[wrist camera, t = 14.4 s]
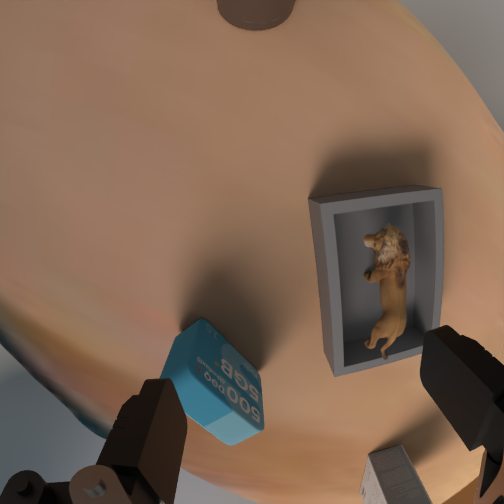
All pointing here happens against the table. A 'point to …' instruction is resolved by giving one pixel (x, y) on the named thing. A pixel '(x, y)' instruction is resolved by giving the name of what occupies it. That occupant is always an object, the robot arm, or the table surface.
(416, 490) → the hard drive box
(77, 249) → the table surface
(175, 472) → the robot arm
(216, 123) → the table surface
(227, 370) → the data package
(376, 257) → the lion figurine
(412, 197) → the bin
